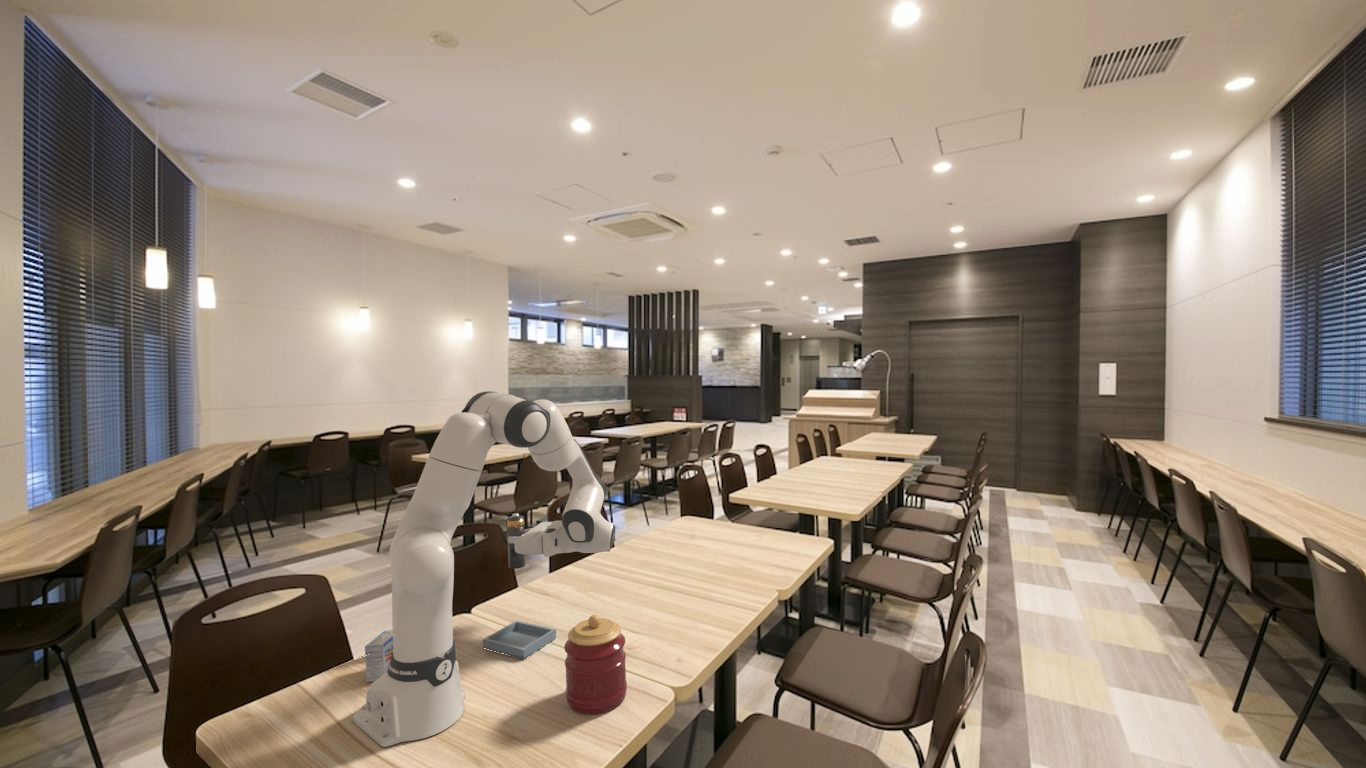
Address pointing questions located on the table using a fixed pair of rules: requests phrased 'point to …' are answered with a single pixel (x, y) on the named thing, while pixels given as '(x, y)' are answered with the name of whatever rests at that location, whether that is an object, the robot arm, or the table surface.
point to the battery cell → (514, 529)
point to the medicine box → (378, 655)
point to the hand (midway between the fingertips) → (513, 536)
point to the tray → (519, 639)
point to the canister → (595, 666)
